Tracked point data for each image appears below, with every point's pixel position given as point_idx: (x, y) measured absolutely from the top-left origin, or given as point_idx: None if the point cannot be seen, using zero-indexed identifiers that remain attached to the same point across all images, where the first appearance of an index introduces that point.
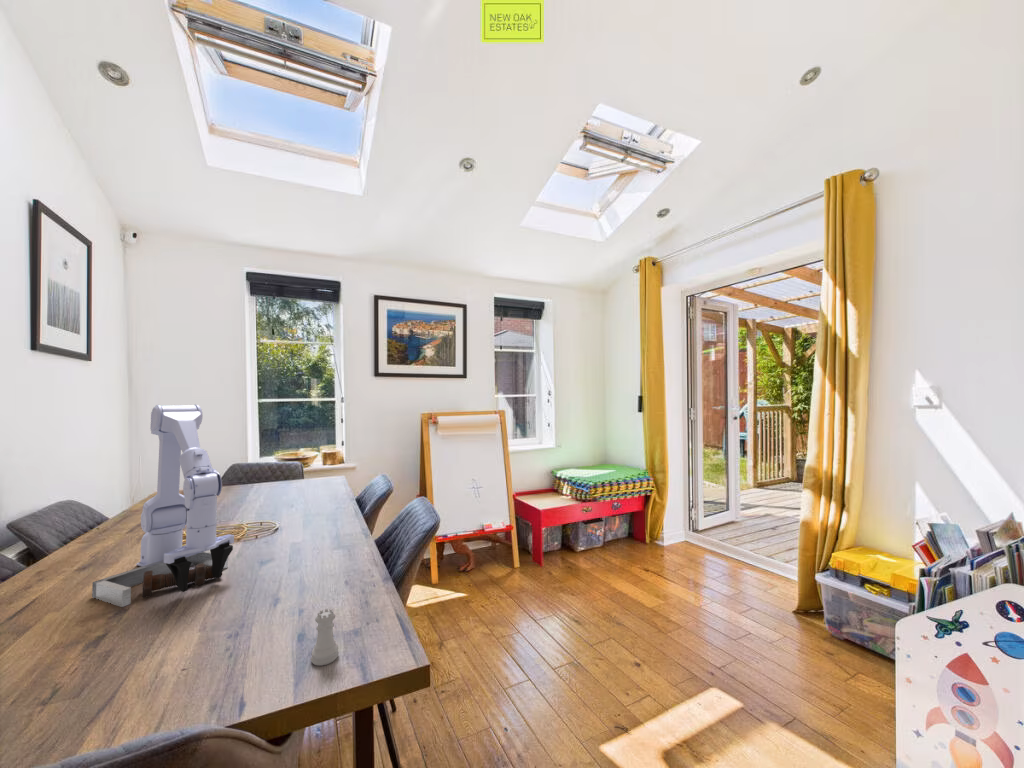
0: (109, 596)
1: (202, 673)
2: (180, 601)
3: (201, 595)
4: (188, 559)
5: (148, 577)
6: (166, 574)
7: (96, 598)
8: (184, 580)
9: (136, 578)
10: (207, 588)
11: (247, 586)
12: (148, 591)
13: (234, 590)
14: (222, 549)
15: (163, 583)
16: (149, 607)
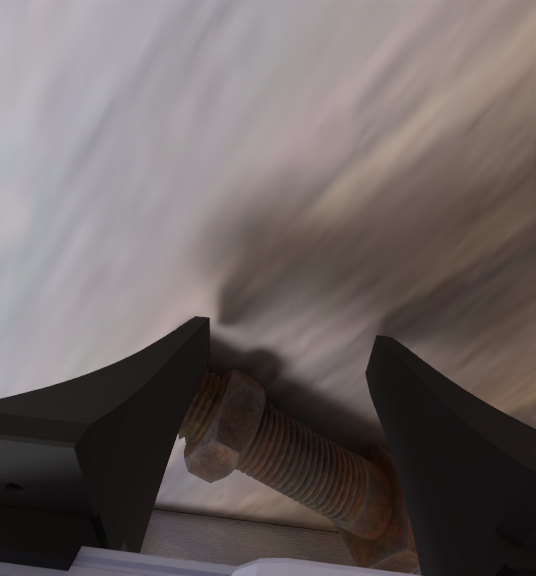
0: None
1: None
2: (404, 308)
3: (331, 273)
4: (148, 543)
5: None
6: (338, 508)
7: None
8: (434, 372)
9: (316, 557)
10: (263, 313)
11: (164, 118)
12: None
13: (233, 149)
14: (90, 469)
15: (356, 466)
16: (469, 374)
